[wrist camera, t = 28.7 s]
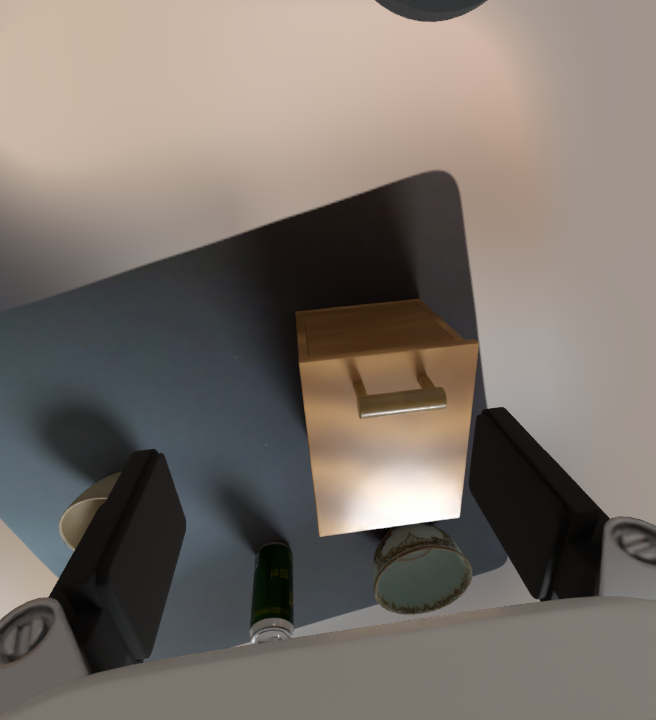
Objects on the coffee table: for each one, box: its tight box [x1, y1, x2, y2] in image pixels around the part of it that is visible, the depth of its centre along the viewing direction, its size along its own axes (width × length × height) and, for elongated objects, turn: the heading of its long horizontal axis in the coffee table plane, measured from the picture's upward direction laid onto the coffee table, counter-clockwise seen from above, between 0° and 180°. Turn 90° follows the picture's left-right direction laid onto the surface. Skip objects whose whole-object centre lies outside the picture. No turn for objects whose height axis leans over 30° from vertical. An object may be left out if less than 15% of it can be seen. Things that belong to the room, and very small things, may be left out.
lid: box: [299, 339, 479, 537], centre depth 31 cm, size 18×14×5 cm
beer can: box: [250, 541, 294, 645], centre depth 51 cm, size 5×5×12 cm
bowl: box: [372, 523, 473, 615], centre depth 54 cm, size 14×13×8 cm
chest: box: [295, 299, 464, 358], centre depth 39 cm, size 18×14×13 cm
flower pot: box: [59, 471, 122, 551], centre depth 45 cm, size 10×10×7 cm
